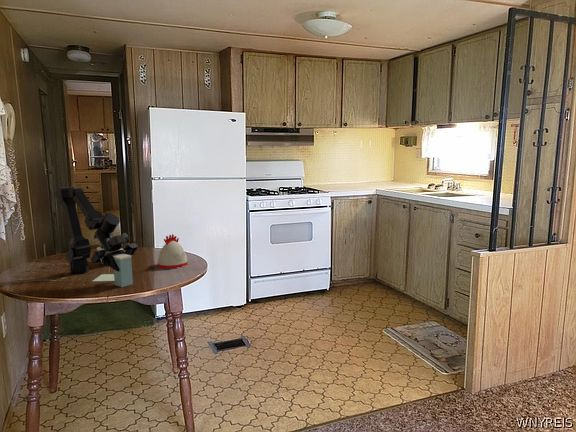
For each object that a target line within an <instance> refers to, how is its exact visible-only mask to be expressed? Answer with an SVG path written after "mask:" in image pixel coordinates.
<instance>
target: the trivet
mask: <svg viewBox="0 0 576 432" xmlns="http://www.w3.org/2000/svg"><path fill="white" fill-rule="evenodd" d="M91 282H115V281H114V273H110V274H109V273H107V274H105V273H103V274H100V275H98V276H97V277H95V279H93V280H91Z"/></svg>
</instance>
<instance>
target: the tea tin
mask: <svg viewBox="0 0 576 432" xmlns="http://www.w3.org/2000/svg"><path fill="white" fill-rule="evenodd" d="M113 259H114V260H115V262H116V264H117V265H118V267H119V269H120V271H119V272H118V271H116V270H114V269H113V274H114V281H113V282H114V286H116V287H120V288H123V287H124V288H125V287H127V286H131V285H133V284H134V283H133V282H134V281H133V279H134V278H133V266H132V264H133V263H132V256H131V255H127V254H121V255H116V256H113Z"/></svg>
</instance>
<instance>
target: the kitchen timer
mask: <svg viewBox="0 0 576 432" xmlns="http://www.w3.org/2000/svg"><path fill="white" fill-rule="evenodd" d="M168 235H169V236H168ZM168 235H166V236H165V238H163V242H164V243H165V244H164V245H163V246H162V247H161V250H160V251H159V253H158V258H157V267H158V268H159V267H160V268H159V269H163V268H175V269H178V268H177V267H181V268H183V267H182V266H184V267H186V266H188V265H189V264H188V263H189V261H188V256H187V254H186V251H185V249H184V247H183V246H182V245H181V244H180V243H179V239H180V237H177V236H176V235H174V234H168ZM185 265H186V266H185Z"/></svg>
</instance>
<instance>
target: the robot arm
mask: <svg viewBox="0 0 576 432" xmlns="http://www.w3.org/2000/svg"><path fill="white" fill-rule="evenodd" d="M54 195H55V198H56V200H57V203H58V204H59V205H61V206H62V208H63V212H64V216H65V219H66V224H67V228H68V232H69V236H70V241H69V243H68V250H67V252H66V255H65V259H66V261H68V262H69V265H70V267H69V268H70V272H68V274H69V275H83V274H85V273H87V272H89V271H90V268H89V261H88V259H89V258H90V261H91V264H93V265H97V264H101V265H105V266H107V267H109V268H111V269H113V271H114V270H116V271H118V272H119V271H120V269H119V267H118V265H117V264H116V262H115V260H114V259H113V256H115V255H119V254H127V255H131V257H132V256H133V255H135V253H136V251H137V250H138V248H139V247H138V245H137V243H135V242H133V243H127V244H126V245H125V247H124V245H123V244H124V243H126V242H127V241H129V240H130V238H129V235H128V234H127V232H124V233H122V234H120V235H115V236H114V235H113V233H114V232H115V231H116V228H118V226H119V224H120V222H121V221H120V220H121V219H120V217H119V216H117V215H115V214H113V213H111V212H105V214H103V213H102V212H101V211H99V210H97V209H96V208H95V207H94V206H93V203H91V202H90V200H89V198H88V197H87V195H86V194H85V192H84V189H83V188H82V187H76V188H75V187H74V186H66V187H65V186H63V187H62V186H61V187H57V189H56V190H55V191H54ZM76 206H77V207H78V208H79V210H80V211H81V213H82V214H83V216H84V223H85V226H86V227H87V229H88V230H89V231H94V230H95V232H94V235H93V239H95V240H96V239H97V240H98V242H99V243H100V247H101V249H104V250H98V251H97V250H96V251H94V253H93V254H92V255H91V251H92V249H91V248H92V247H91V244H90V240H89V239H88V238H85V236H84V235H83V231H82V228H81V223H80V219H79V214H78V210H77V207H76ZM121 247H124V248H122V249H121ZM101 260H102V262H101Z"/></svg>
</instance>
